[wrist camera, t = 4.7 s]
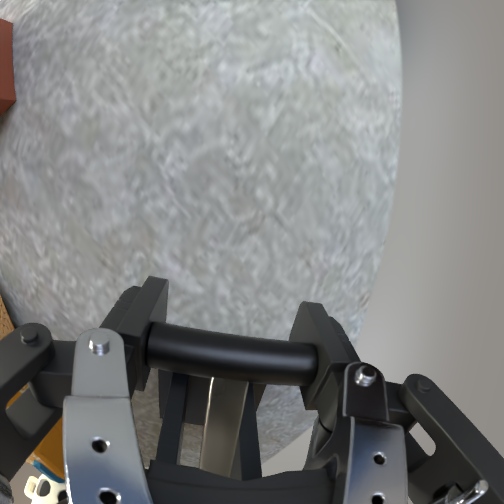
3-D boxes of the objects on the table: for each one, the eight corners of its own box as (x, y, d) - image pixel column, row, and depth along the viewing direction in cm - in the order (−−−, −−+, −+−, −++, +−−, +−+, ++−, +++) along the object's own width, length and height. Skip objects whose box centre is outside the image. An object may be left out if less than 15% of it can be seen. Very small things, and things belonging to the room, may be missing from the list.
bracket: (162, 332, 16) (108, 536, 4) (273, 349, 17) (311, 549, 5) (162, 407, 18) (138, 550, 6) (248, 418, 19) (260, 560, 7)
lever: (160, 314, 9) (142, 330, 6) (302, 335, 9) (329, 354, 7) (155, 519, 8) (150, 549, 6) (248, 528, 9) (255, 557, 6)
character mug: (119, 443, 21) (97, 541, 9) (130, 467, 23) (116, 548, 11) (39, 414, 20) (4, 493, 7) (58, 443, 22) (33, 512, 10)
